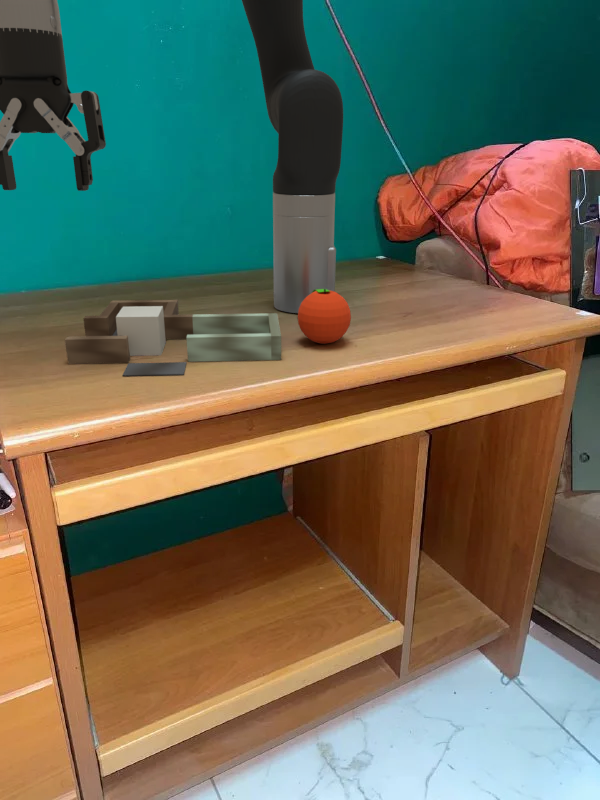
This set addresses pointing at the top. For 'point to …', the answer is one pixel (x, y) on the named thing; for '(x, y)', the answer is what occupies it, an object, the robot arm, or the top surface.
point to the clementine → (324, 316)
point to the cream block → (142, 329)
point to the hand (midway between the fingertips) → (46, 190)
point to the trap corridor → (203, 333)
